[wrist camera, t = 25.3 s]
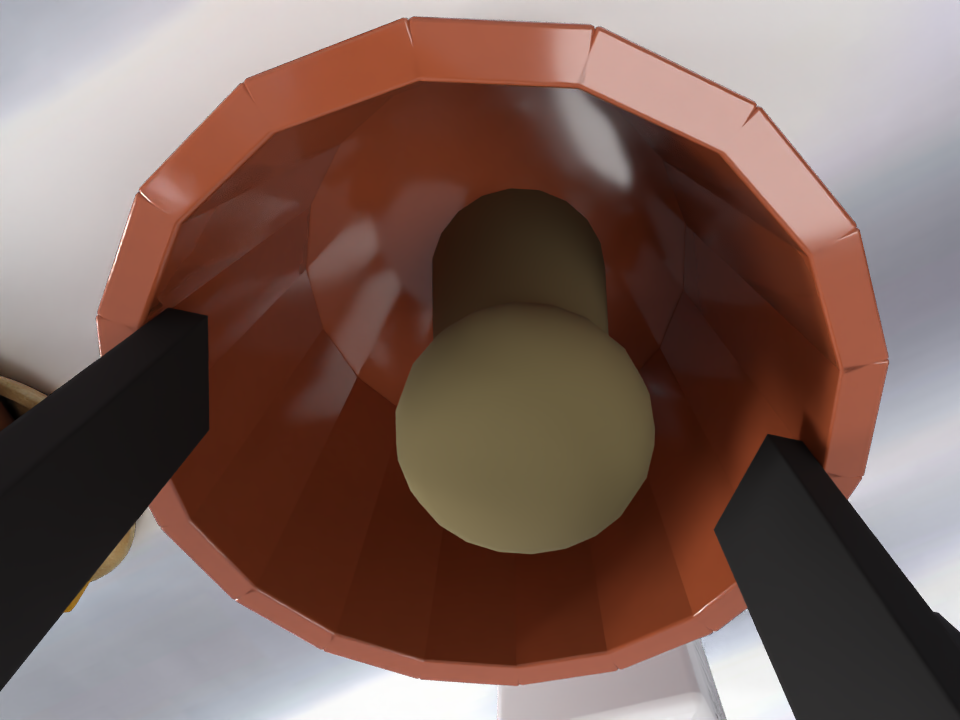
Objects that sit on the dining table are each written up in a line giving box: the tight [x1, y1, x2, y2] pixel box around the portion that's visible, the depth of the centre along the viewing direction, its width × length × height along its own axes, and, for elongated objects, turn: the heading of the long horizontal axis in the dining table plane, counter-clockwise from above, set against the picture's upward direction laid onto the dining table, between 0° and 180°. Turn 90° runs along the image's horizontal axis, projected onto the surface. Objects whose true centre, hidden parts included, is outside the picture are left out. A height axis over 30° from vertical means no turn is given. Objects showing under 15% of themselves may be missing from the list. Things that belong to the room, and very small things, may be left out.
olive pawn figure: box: [396, 188, 655, 554], centre depth 15 cm, size 6×6×11 cm
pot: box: [96, 16, 889, 686], centre depth 16 cm, size 15×15×10 cm
